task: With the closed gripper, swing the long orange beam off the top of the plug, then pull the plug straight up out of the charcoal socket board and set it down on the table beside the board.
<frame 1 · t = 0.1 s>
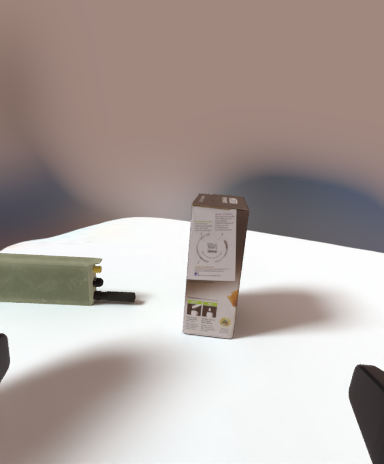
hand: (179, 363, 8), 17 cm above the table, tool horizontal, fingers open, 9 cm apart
coffee box: (209, 317, 40), on the table
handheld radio: (45, 302, 41), on the table
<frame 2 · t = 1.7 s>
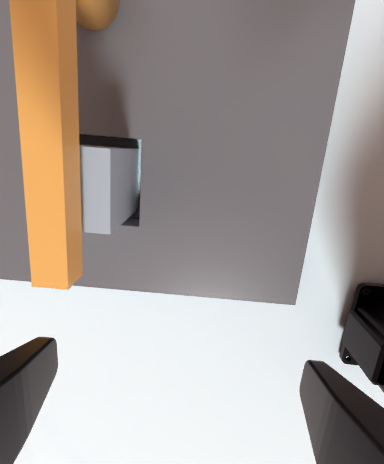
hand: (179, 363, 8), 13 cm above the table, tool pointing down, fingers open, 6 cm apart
long orange beam: (72, 119, 13), point 5 cm above the table, hinge at 0.0°
socket board: (138, 149, 19), on the table
plug: (108, 177, 19), resting in socket board
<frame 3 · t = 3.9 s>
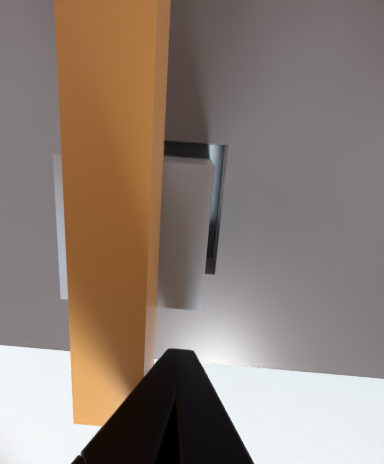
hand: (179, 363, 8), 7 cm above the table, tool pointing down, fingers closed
long orange beam: (141, 113, 8), point 5 cm above the table, hinge at 0.1°, touching gripper
socket board: (209, 158, 13), on the table
plug: (162, 199, 13), resting in socket board
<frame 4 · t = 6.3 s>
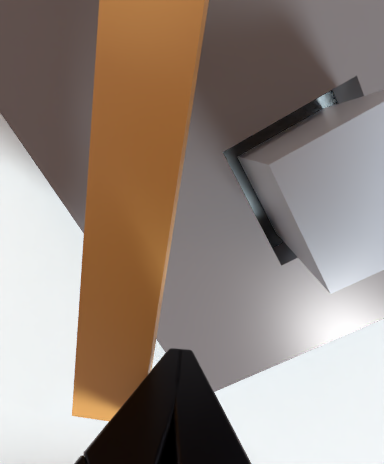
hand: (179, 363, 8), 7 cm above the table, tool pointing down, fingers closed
long orange beam: (162, 111, 8), point 5 cm above the table, hinge at 39.0°, touching gripper
socket board: (323, 108, 12), on the table
plug: (297, 174, 13), resting in socket board
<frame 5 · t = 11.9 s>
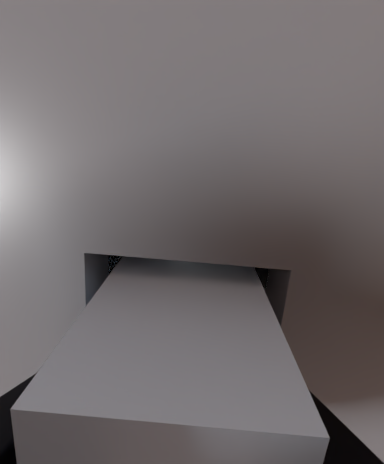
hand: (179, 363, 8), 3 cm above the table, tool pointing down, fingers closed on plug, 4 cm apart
socket board: (236, 364, 10), on the table
plug: (184, 310, 10), resting in socket board, touching gripper
when the fingers open (4 cm above the table, at t = 16.4 s): plug drops 2 cm, on the table.
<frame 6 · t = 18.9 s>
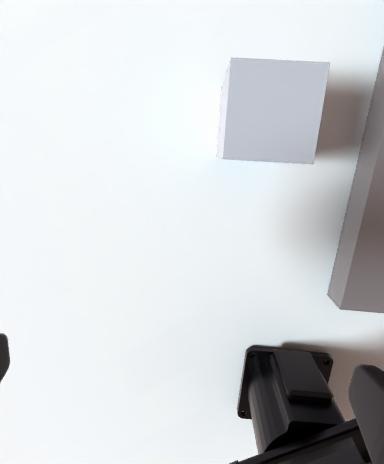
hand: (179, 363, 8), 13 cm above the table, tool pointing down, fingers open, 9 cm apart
plug: (251, 124, 18), on the table
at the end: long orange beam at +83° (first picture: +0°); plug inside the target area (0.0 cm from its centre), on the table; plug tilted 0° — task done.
